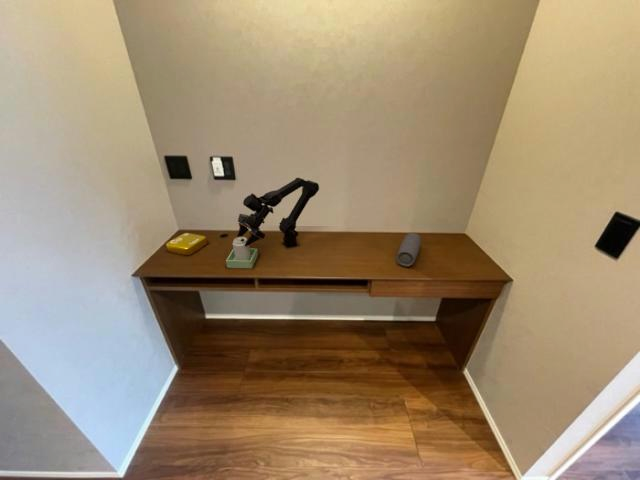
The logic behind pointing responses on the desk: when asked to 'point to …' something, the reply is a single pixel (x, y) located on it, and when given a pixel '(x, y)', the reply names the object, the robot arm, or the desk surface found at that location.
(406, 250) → the bluetooth speaker
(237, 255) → the can
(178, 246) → the element tile
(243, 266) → the tray
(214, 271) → the desk surface
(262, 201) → the robot arm
